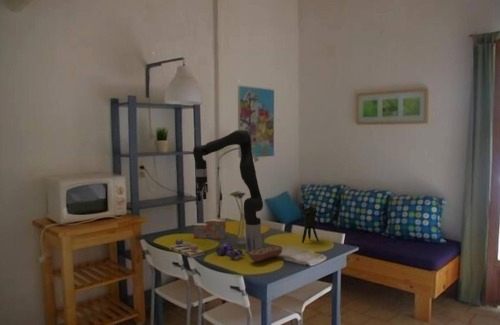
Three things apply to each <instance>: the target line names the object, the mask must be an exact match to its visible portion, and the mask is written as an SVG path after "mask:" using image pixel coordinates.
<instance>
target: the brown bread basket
mask: <svg viewBox="0 0 500 325" xmlns="http://www.w3.org/2000/svg"><path fill="white" fill-rule="evenodd" d="M282 253H283V247H282V246H281V245H276V244H275V245H267V246H262V248H258V249H255V250H252V251H250V252H249V253H248V255H249V257H250V259H251V260H252V261H254V262H260V261H263V260H267V259H269V258H274V257H278V256H279V254H280V255H281V254H282Z"/></svg>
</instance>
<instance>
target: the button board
mask: <svg viewBox="0 0 500 325" xmlns="http://www.w3.org/2000/svg"><path fill="white" fill-rule="evenodd" d="M169 250H170V251H173V252H175V253H178V254H180V255H183V256H185V257H188V258H190V257H189V256H191V257H193V258H196V257H201V256H204V255H205V251H204V250H203V249H199V248H198V249H197V250H190V247H183V244H182V245H176V244H174V245H171V246H169Z"/></svg>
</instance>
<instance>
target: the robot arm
mask: <svg viewBox="0 0 500 325" xmlns="http://www.w3.org/2000/svg"><path fill="white" fill-rule="evenodd" d="M251 142H252V141H251V135H250V133H249V131H247V130H244V129H238V130H234V131H233V132H231V133H229V134H227V135H225V136H222V137H221V138H218V139H214V140H212V141H209V142H207V143H206V144H203V145H202V144H200V145H198V144H197V145H195V146H194V147H193V149H192V150H193V151H192V154H193V158H194V162H195V183H196V184H197V185H195V195H196V196H197V202H202V199H203V200H207V193H208V192H209V187H208V169H207V168H208V167H207V161H206V160H205V159H204V156H208V155H210V154H211V153H215V152H218V151H222V150H223V149H225V148H226V147H228V146H229V147H230V146H235V145H236V146H237V145H238V146H239V148H240V154H241V155H240V163H239V171H240V177H241V179H242V181H243V183H244V185H245V186H247V188H248V190H249V195H250V197H248V198H246V199H245V200H244V201H243V218H244V221H245V252H246V253H248V254H249V252H250V251H252V250H255V249H258V248H262V247H263V236H262V232H261V231H262V230H261V229H262V228H261V224H262V223H261V222H262V221H261V218H259V217H257V213H258V212H260V211H262V210H263V208H264V202H263V197H262V194H261V190H260V188H259V182H258V177H257V173H256V167H255V162H254V157H253V153H252V143H251Z"/></svg>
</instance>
